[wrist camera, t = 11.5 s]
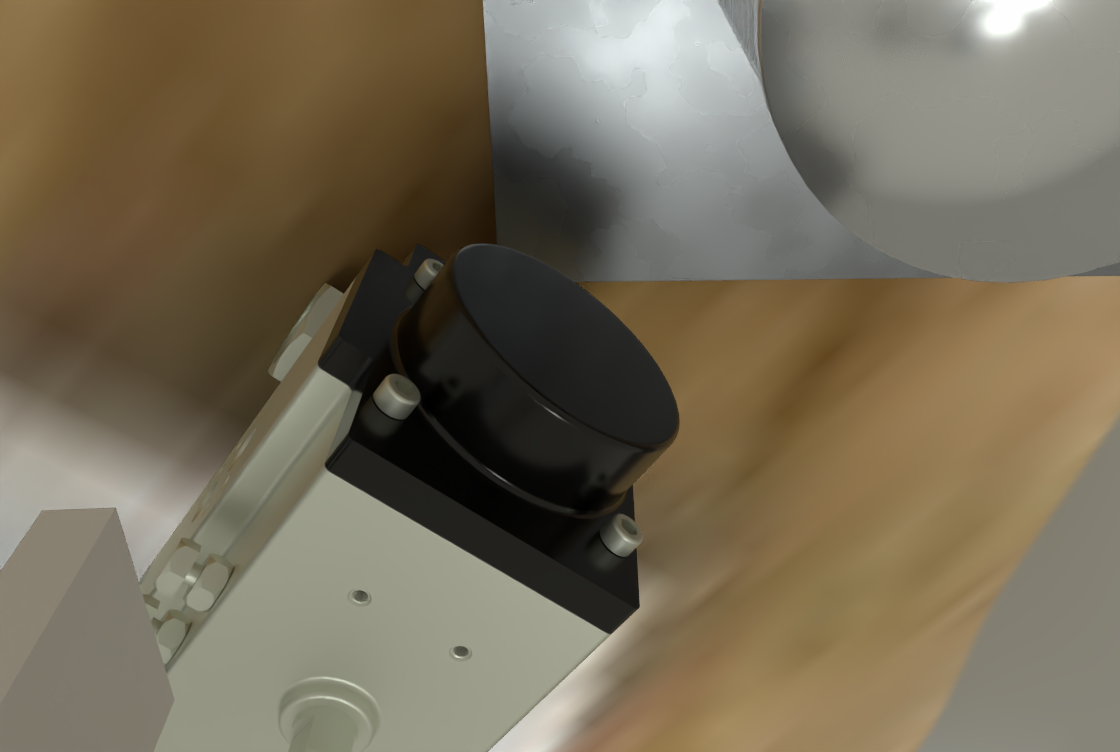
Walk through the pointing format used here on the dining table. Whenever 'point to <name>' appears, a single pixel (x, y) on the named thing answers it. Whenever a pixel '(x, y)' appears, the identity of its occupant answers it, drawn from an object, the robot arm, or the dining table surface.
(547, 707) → the dining table surface
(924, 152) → the grey metal fitting
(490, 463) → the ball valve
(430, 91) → the dining table surface
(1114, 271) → the grey metal plate
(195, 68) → the dining table surface
